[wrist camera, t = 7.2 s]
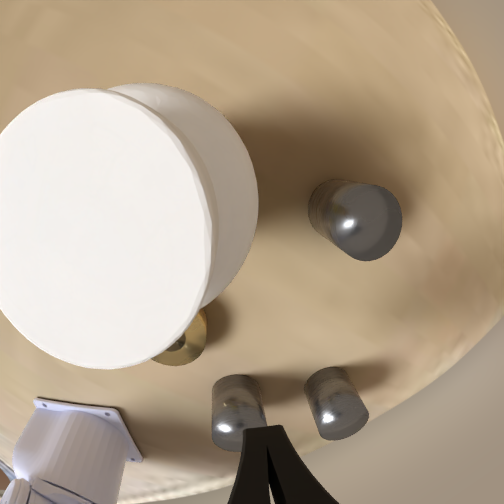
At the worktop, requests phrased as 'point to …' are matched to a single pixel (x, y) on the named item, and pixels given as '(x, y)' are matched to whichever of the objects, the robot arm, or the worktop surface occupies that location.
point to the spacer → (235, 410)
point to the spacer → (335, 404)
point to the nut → (186, 344)
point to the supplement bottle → (120, 219)
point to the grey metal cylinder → (356, 217)
